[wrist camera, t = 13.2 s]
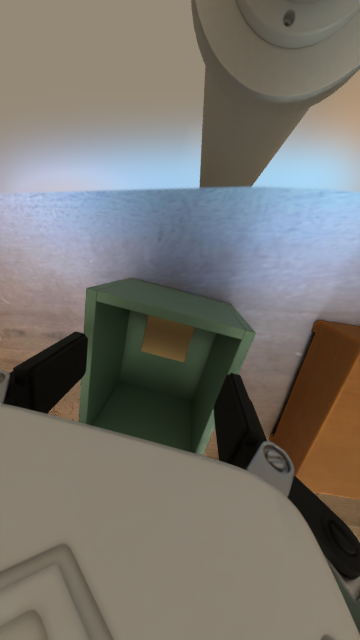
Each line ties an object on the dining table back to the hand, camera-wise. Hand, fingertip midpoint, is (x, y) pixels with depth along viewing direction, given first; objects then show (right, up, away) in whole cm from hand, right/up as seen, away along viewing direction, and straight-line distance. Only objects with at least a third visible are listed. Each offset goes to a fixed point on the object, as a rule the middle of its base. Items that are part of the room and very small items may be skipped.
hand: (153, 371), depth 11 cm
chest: (0, 0, +12) cm, 12 cm away
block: (+1, +3, +10) cm, 10 cm away
